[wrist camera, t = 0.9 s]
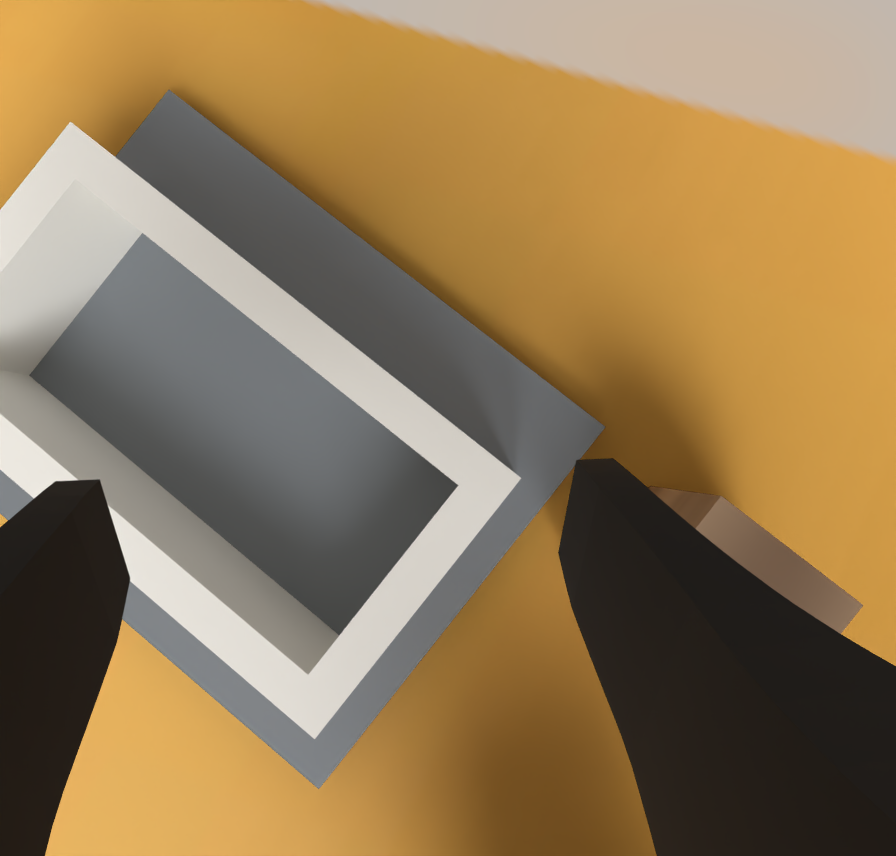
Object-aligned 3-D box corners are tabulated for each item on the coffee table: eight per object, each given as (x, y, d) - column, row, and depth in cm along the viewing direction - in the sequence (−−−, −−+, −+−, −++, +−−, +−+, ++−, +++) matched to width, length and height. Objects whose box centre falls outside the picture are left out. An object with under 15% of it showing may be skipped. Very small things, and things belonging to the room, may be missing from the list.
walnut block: (746, 561, 22) (863, 605, 15) (672, 655, 22) (755, 742, 15) (650, 486, 23) (721, 495, 16) (576, 578, 23) (615, 629, 16)
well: (600, 428, 23) (631, 418, 18) (326, 774, 23) (280, 861, 18) (181, 104, 24) (103, 12, 19) (-76, 428, 24) (-221, 419, 19)
